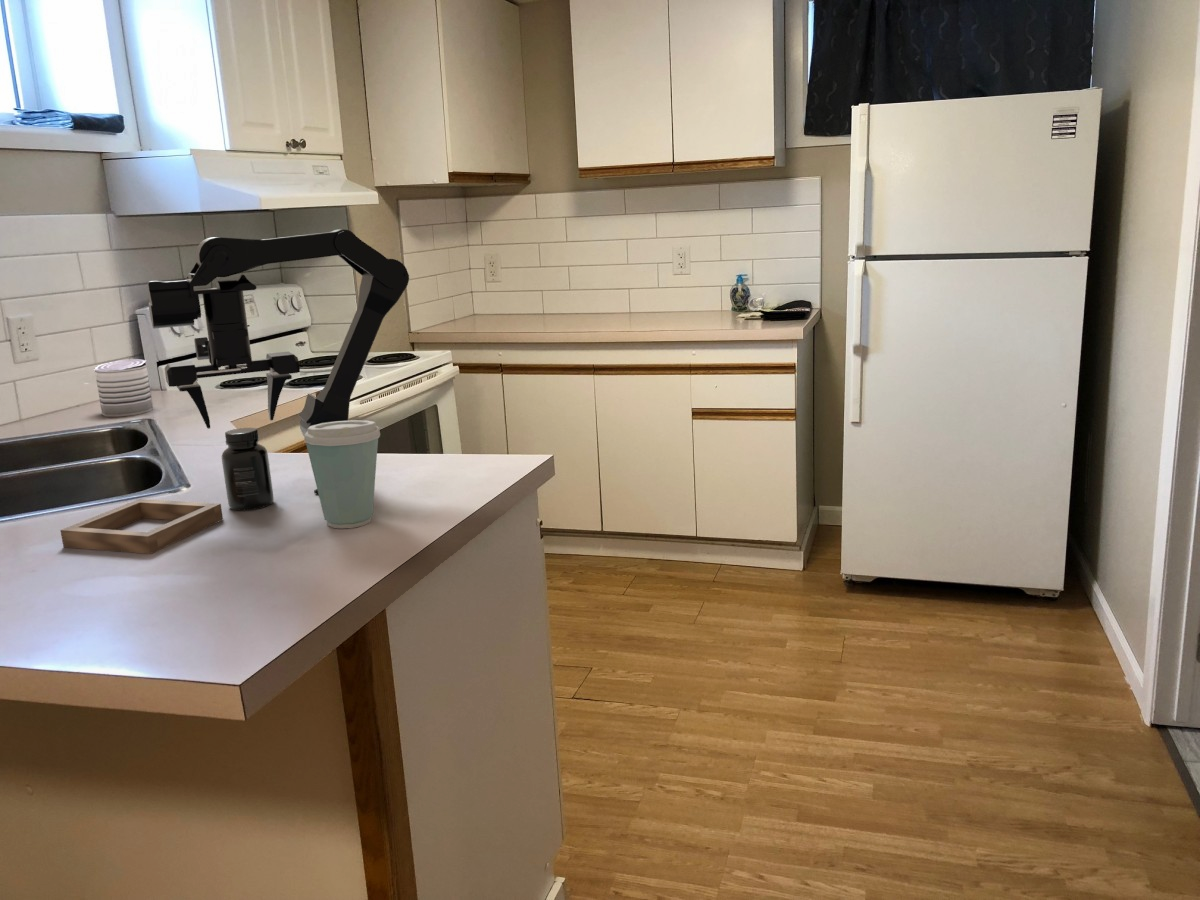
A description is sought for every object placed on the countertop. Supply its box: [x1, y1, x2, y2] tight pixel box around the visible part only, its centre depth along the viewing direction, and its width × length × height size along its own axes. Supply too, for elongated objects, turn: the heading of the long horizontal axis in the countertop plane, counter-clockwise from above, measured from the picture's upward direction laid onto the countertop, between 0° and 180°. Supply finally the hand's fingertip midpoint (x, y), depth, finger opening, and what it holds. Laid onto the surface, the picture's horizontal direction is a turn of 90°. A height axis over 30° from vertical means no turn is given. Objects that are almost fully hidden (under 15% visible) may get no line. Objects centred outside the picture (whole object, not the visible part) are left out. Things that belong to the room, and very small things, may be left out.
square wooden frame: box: [59, 498, 224, 555], centre depth 141 cm, size 15×15×2 cm
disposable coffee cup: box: [303, 419, 381, 529], centre depth 141 cm, size 11×11×15 cm
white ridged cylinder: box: [92, 358, 154, 418], centre depth 235 cm, size 11×11×12 cm
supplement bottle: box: [221, 427, 275, 511], centre depth 152 cm, size 7×7×12 cm
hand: (240, 424), depth 150 cm, fingers open, 9 cm apart
